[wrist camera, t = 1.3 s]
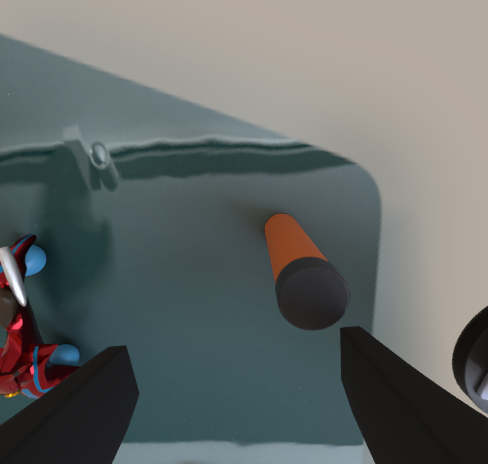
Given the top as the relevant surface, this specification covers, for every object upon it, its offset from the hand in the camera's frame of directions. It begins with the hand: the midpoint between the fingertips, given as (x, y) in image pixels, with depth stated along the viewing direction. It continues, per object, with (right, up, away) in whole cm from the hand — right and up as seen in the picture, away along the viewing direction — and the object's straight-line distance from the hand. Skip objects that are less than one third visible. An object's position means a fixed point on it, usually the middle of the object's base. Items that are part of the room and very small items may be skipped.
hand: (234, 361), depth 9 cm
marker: (+3, +4, +8) cm, 10 cm away
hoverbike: (-13, -1, +10) cm, 17 cm away
